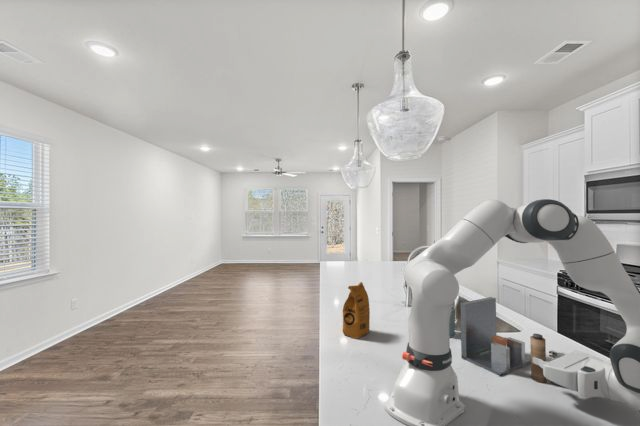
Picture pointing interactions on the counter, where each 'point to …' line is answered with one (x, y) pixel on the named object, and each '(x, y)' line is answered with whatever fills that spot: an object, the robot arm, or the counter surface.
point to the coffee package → (356, 312)
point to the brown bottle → (537, 351)
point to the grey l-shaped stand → (488, 339)
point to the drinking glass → (452, 322)
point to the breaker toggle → (499, 340)
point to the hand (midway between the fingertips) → (542, 356)
